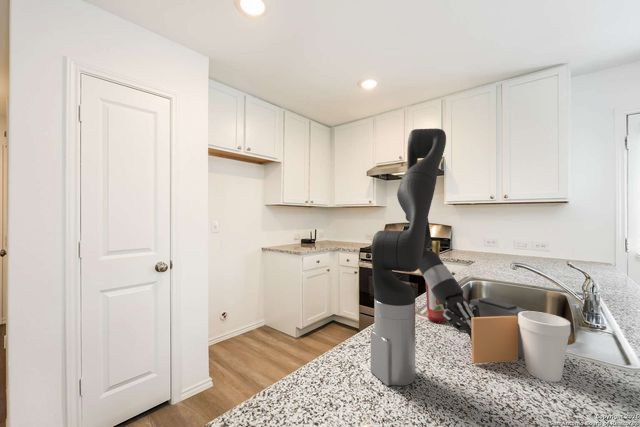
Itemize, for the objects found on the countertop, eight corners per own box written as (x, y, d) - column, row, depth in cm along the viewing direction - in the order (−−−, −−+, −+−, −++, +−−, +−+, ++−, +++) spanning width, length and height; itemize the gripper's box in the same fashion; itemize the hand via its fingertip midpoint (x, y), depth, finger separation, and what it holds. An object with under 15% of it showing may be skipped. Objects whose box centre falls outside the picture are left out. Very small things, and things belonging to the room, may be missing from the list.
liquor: (443, 317, 100) (443, 240, 100) (450, 324, 93) (449, 242, 93) (422, 315, 101) (422, 240, 101) (427, 323, 94) (427, 242, 94)
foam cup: (549, 389, 58) (549, 327, 58) (509, 366, 67) (508, 313, 67) (581, 382, 60) (580, 323, 61) (538, 360, 69) (537, 309, 70)
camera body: (513, 360, 70) (513, 310, 70) (470, 340, 81) (470, 298, 81) (527, 355, 72) (526, 307, 73) (483, 337, 83) (483, 295, 83)
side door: (517, 360, 68) (517, 316, 69) (473, 363, 67) (473, 318, 67) (515, 359, 69) (515, 315, 69) (471, 361, 68) (471, 317, 68)
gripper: (433, 279, 75) (474, 344, 64) (466, 275, 80) (508, 333, 69) (418, 293, 80) (454, 355, 69) (450, 288, 85) (487, 344, 74)
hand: (481, 344), depth 69 cm, fingers closed
